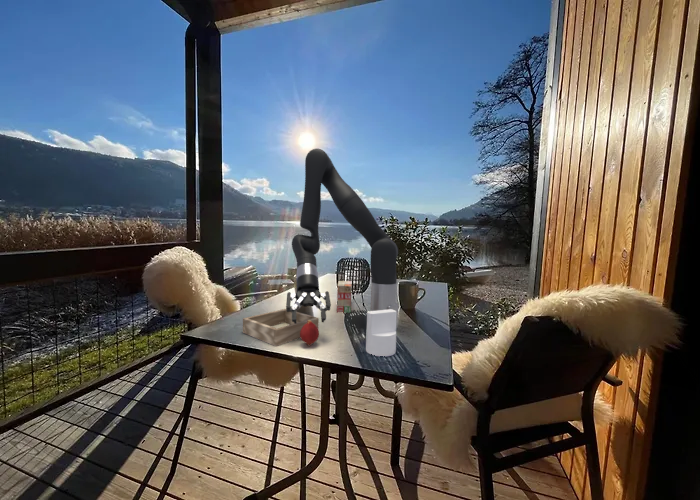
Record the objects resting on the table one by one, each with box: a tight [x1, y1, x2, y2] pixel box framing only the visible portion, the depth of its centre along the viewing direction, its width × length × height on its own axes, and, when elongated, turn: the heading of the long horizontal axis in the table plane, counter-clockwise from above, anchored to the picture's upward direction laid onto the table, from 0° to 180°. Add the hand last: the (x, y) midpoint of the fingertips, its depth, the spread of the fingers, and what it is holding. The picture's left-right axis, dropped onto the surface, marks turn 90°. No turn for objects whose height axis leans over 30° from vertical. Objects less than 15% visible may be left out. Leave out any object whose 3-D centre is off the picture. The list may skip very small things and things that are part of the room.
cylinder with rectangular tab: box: [365, 309, 397, 357], centre depth 91 cm, size 9×9×12 cm
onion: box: [300, 320, 320, 346], centre depth 94 cm, size 6×6×8 cm
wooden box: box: [242, 308, 320, 347], centre depth 106 cm, size 18×18×5 cm
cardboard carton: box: [336, 280, 353, 314], centre depth 144 cm, size 21×6×12 cm, turn 0°
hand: (309, 321), depth 94 cm, fingers open, 8 cm apart
